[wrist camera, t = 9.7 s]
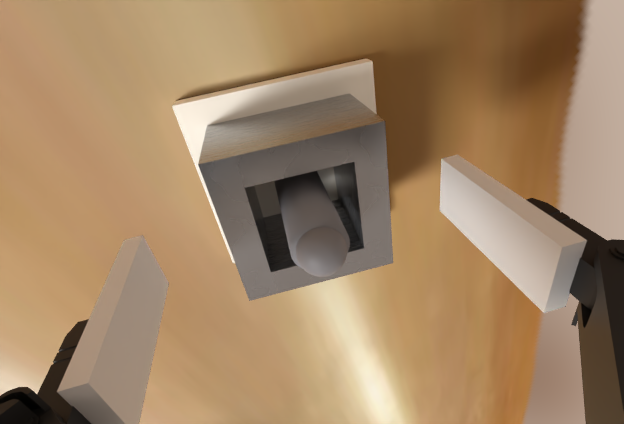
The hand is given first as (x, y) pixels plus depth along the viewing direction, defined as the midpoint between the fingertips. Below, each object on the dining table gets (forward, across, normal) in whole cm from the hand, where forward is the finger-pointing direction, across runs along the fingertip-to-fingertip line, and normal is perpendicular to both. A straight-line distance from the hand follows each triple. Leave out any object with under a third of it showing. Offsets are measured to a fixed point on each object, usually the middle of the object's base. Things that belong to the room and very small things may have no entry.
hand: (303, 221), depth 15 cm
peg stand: (+6, 0, 0) cm, 6 cm away
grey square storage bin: (+5, 0, 0) cm, 5 cm away
